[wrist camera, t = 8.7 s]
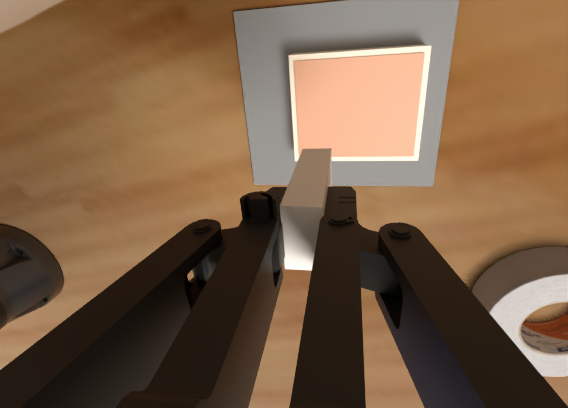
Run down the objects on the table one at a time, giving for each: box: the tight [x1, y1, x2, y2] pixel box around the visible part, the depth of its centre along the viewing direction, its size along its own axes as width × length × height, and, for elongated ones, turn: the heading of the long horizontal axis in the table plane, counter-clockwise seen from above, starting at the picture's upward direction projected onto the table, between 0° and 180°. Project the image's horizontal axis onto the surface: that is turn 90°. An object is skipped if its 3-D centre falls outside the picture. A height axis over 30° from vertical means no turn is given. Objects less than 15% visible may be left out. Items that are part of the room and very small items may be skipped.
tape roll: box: [471, 247, 568, 377], centre depth 38 cm, size 15×15×5 cm
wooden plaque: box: [288, 44, 432, 161], centre depth 32 cm, size 3×10×12 cm
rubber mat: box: [233, 0, 459, 186], centre depth 34 cm, size 20×18×1 cm
